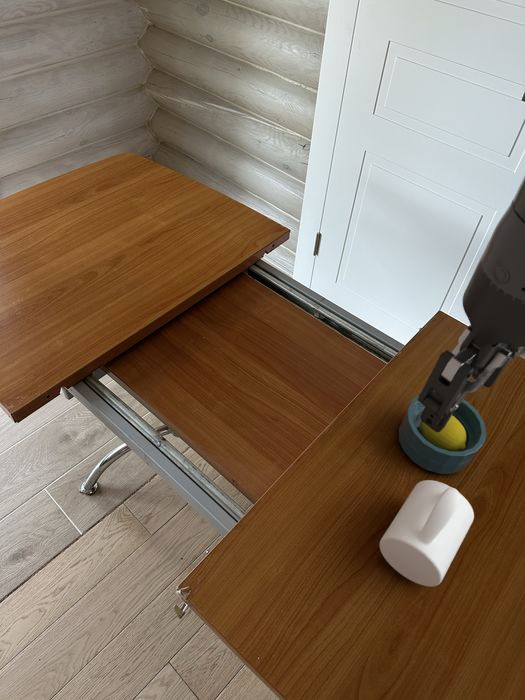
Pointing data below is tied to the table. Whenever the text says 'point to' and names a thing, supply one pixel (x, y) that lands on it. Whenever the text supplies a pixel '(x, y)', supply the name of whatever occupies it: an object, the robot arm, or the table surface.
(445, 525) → the mug
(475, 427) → the bowl
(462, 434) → the lemon
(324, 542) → the table surface
